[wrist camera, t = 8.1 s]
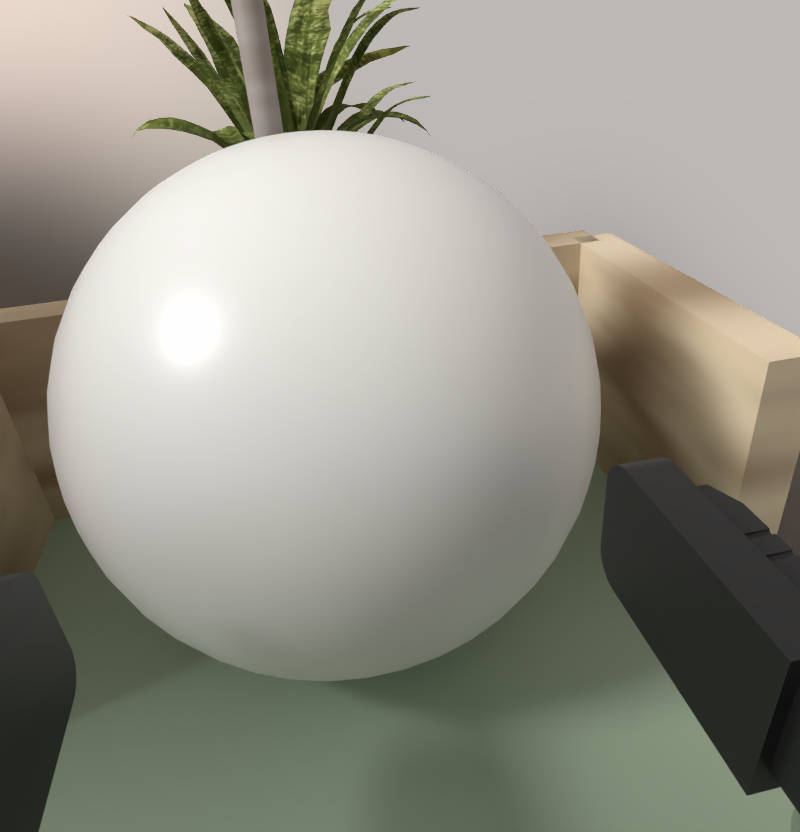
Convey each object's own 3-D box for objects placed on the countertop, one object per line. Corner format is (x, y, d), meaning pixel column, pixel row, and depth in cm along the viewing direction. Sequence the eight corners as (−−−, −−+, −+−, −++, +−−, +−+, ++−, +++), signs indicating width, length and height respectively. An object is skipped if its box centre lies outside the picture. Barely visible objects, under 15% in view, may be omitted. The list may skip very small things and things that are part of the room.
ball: (193, -1, 15) (269, 353, 23) (-298, 313, 8) (59, 646, 17) (714, 79, 12) (585, 444, 21) (604, 631, 6) (483, 832, 14)
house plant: (503, 385, 27) (503, -135, 18) (154, 425, 26) (-7, -95, 18) (446, 273, 39) (431, -70, 31) (209, 298, 38) (128, -44, 30)
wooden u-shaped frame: (759, 598, 16) (1207, -1043, 6) (-110, 785, 14) (-1926, -1465, 3) (575, 393, 25) (624, -387, 15) (35, 483, 23) (-343, -375, 13)
